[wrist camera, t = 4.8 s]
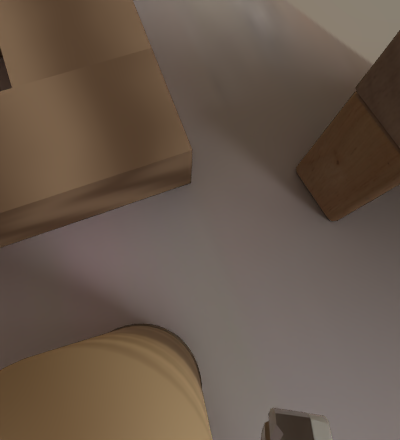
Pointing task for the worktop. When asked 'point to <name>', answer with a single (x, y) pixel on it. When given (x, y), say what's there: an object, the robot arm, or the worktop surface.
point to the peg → (106, 390)
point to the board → (81, 115)
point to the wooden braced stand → (359, 143)
